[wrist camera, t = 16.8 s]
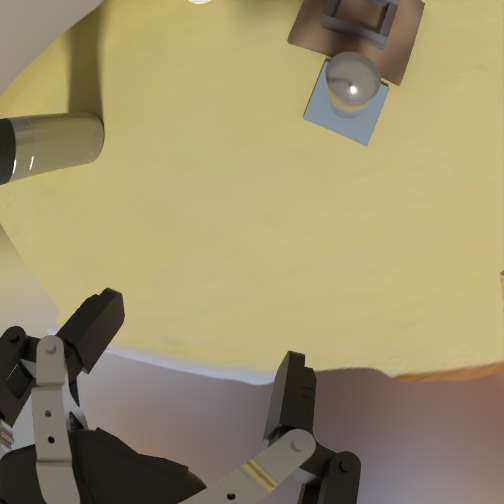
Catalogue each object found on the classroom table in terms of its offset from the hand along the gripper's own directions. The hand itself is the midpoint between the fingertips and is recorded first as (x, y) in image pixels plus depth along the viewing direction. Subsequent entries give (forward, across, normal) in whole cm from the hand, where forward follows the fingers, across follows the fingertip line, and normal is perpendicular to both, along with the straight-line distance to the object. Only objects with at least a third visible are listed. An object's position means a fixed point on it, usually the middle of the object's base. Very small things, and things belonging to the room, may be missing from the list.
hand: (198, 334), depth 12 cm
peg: (+26, -6, -12) cm, 29 cm away
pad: (+26, -6, -12) cm, 29 cm away
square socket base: (+28, -5, -24) cm, 37 cm away
